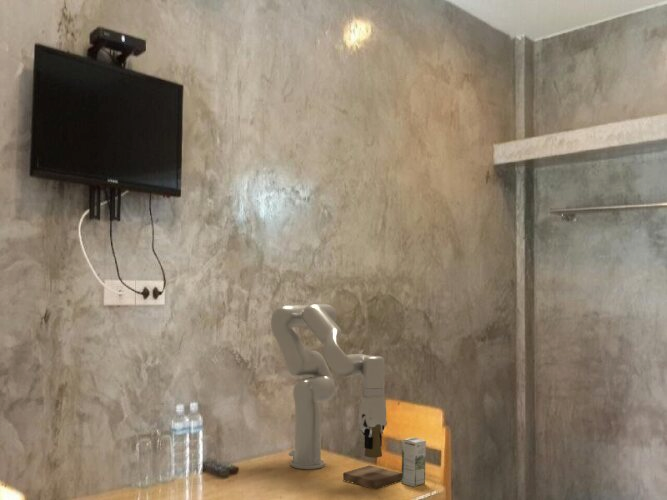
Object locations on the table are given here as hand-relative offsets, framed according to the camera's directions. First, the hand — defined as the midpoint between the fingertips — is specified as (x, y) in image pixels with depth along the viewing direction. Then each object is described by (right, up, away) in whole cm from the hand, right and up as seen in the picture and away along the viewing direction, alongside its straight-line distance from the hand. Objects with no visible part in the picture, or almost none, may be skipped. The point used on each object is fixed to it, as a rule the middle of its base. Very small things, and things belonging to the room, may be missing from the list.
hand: (373, 446), depth 213 cm
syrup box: (+13, -11, -4) cm, 18 cm away
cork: (0, -3, 0) cm, 3 cm away
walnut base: (0, -11, -1) cm, 11 cm away
